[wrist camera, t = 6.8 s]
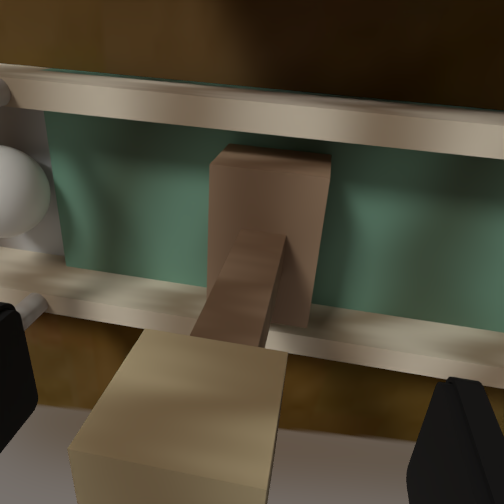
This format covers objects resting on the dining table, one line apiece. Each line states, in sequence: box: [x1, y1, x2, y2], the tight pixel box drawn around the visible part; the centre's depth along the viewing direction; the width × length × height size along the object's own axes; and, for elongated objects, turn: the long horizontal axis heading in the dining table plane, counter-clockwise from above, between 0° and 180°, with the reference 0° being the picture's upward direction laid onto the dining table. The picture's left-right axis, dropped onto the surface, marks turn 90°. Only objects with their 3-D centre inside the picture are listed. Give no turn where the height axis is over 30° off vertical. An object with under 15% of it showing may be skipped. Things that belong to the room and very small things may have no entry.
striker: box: [67, 143, 332, 504], centre depth 13 cm, size 4×6×13 cm, turn 176°
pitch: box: [0, 63, 504, 389], centre depth 17 cm, size 30×10×8 cm, turn 86°
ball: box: [0, 145, 51, 238], centre depth 19 cm, size 4×4×4 cm
